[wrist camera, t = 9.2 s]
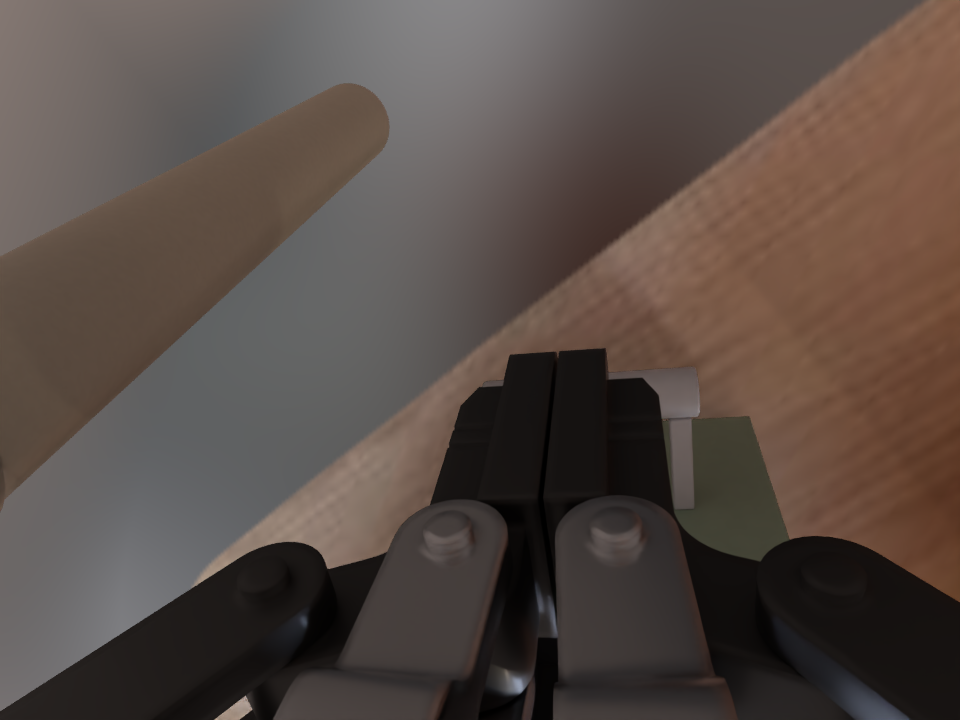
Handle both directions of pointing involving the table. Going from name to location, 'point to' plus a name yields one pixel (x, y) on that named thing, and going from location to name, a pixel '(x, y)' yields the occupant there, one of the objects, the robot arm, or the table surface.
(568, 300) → the table surface
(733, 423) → the drawer
